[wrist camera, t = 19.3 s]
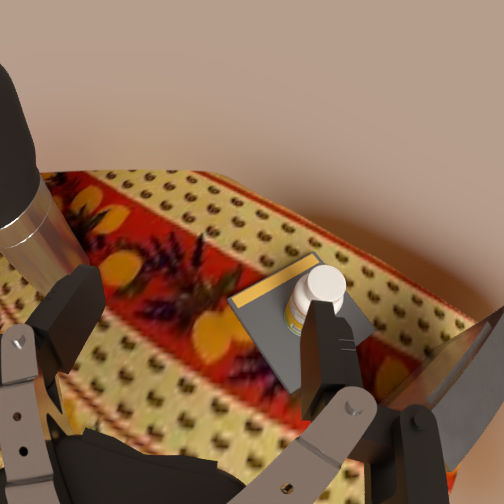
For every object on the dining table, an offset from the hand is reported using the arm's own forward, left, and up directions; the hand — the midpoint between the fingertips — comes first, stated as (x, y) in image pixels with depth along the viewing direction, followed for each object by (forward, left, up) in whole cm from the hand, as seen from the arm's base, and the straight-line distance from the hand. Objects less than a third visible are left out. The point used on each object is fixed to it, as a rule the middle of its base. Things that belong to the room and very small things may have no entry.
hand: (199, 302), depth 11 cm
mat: (-2, +14, -27) cm, 30 cm away
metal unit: (+16, +19, -27) cm, 36 cm away
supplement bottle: (-2, +14, -26) cm, 29 cm away
